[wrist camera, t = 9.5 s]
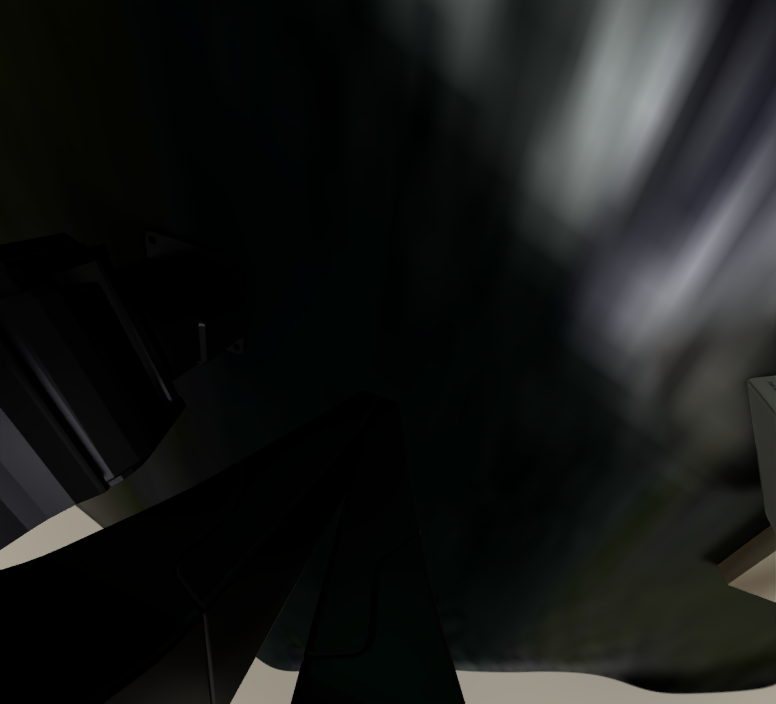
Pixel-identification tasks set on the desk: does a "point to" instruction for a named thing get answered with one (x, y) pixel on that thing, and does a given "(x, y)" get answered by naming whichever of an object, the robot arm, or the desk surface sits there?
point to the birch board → (753, 566)
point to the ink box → (765, 438)
